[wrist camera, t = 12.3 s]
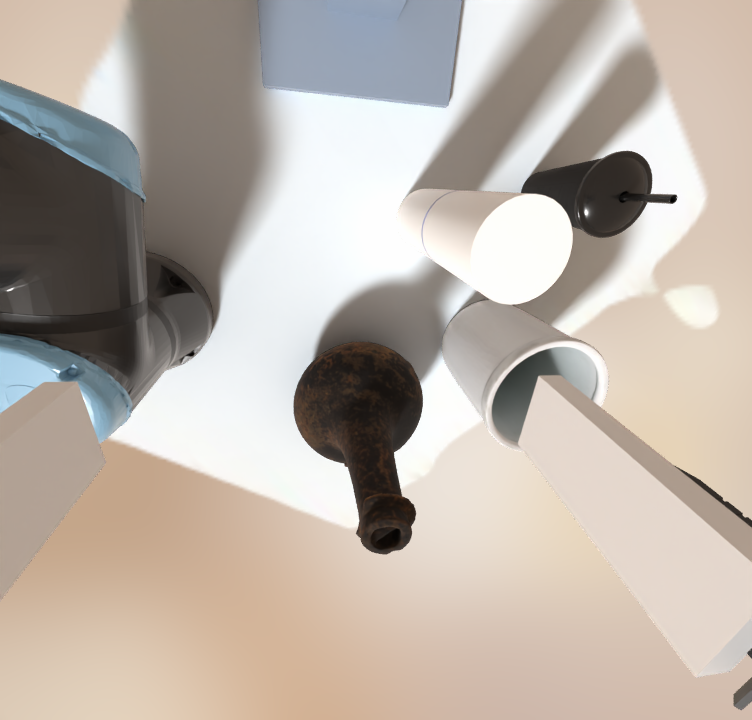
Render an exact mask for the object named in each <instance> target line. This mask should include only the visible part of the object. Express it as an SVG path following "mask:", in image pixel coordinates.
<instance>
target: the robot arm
mask: <svg viewBox="0 0 752 720" xmlns="http://www.w3.org/2000/svg"><path fill="white" fill-rule="evenodd" d="M143 202H146V196H145V194H144V192H143V191H142V181H141V171H140V161H139V155H138V152H137V150H136V147H135V146H134V144H133V143H132V141H131V140H130V139H129V138H128V137H127V136H126V135H125V134H124V133H123V132H121V131H120V130H119V129H117V128H116V127H114V126H113V125H111V124H109V123H107V122H105V121H103V120H101V119H99V118H96V117H94V116H92V115H90V114H87V113H85V112H83V111H81V110H78V109H76V108H73V107H71V106H68V105H66V104H64V103H61V102H59V101H56V100H54V99H51V98H49V97H46V96H44V95H41V94H38V93H36V92H33V91H31V90H28V89H25V88H23V87H20V86H17V85H15V84H12V83H9V82H6V81H3V80H1V79H0V601H1V600H2V599H3V597H4V596H5V595H6V593H7V592H8V591H9V589H10V588H11V587H12V585H13V584H14V583H15V581H16V580H17V579H18V578H19V576H20V575H21V574H22V572H23V571H24V570H25V568H26V567H27V566H28V564H29V563H30V562H31V561H32V559H33V558H34V557H35V555H36V554H37V553H38V551H39V550H40V549H41V547H42V546H43V545H44V543H45V542H46V541H47V540H48V538H49V537H50V536H51V534H52V533H53V532H54V530H55V529H56V528H57V527H58V525H59V524H60V523H61V521H62V520H63V519H64V517H65V516H66V515H67V513H68V512H69V511H70V509H71V508H72V507H73V506H74V504H75V503H76V502H77V500H78V499H79V498H80V496H81V495H82V494H83V492H84V491H85V490H86V489H87V487H88V486H89V485H90V483H91V482H92V481H93V479H94V478H95V477H96V475H97V474H98V473H99V472H100V470H101V469H102V468H103V466H104V465H105V464H106V461H105V458H104V455H103V452H102V450H101V447H100V443H101V442H103V441H104V440H106V439H107V438H108V437H109V436H110V435H111V434H112V433H113V432H114V431H115V430H116V429H117V428H119V427H120V426H122V425H123V424H124V423H125V422H126V421H127V420H128V419H129V417H130V416H131V415H130V414H131V413H132V411H133V410H134V408H135V407H136V406H137V405H138V404H139V402H140V401H141V400H142V399H143V397H144V396H145V395H146V394H147V392H148V391H149V390H150V389H151V387H152V386H153V385H154V384H155V383H156V381H157V380H158V379H159V378H160V376H161V375H162V374H163V373H164V371H166V370H169V369H172V368H174V367H177V366H180V365H182V364H184V363H186V362H188V361H189V360H191V359H192V358H193V357H194V356H196V355H197V354H198V353H199V351H200V350H201V349H202V348H203V346H204V345H205V343H206V342H207V340H208V338H209V336H210V334H211V331H212V326H213V312H212V307H211V303H210V300H209V298H208V296H207V294H206V292H205V290H204V289H203V287H202V286H201V284H200V283H199V282H198V281H197V279H196V278H195V277H194V276H193V275H192V274H191V273H190V272H188V271H187V270H186V269H185V268H183V267H182V266H180V265H179V264H177V263H176V262H174V261H172V260H170V259H168V258H165V257H163V256H160V255H157V254H153V253H149V252H145V233H144V213H143ZM518 445H519V446H520V448H521V449H522V450H523V452H524V453H525V454H526V455H527V457H528V458H529V459H530V461H531V462H532V463H533V465H534V466H535V467H536V469H537V470H538V471H539V472H540V474H541V475H542V477H543V478H544V479H545V480H546V482H547V483H548V484H549V486H550V487H551V488H552V490H553V491H554V492H555V494H556V495H557V496H558V497H559V499H560V500H561V501H562V503H563V504H564V505H565V507H566V508H567V509H568V511H569V512H570V513H571V515H572V516H573V517H574V519H575V520H576V521H577V523H578V524H579V525H580V526H581V528H582V529H583V530H584V532H585V533H586V534H587V536H588V537H589V538H590V540H591V541H592V542H593V544H594V545H595V546H596V548H597V549H598V550H599V551H600V553H601V554H602V555H603V557H604V558H605V559H606V561H607V562H608V563H609V565H610V566H611V567H612V569H613V570H614V571H615V572H616V574H617V575H618V576H619V578H620V579H621V580H622V582H623V583H624V584H625V586H626V587H627V588H628V590H629V591H630V592H631V594H632V595H633V596H634V598H635V599H636V600H637V601H638V603H639V604H640V605H641V607H642V608H643V609H644V611H645V612H646V613H647V615H648V616H649V617H650V618H651V620H652V621H653V622H654V624H655V625H656V626H657V628H658V629H659V630H660V632H661V633H662V634H663V636H664V637H665V638H666V640H667V641H668V642H669V644H670V645H671V646H672V647H673V649H674V650H675V651H676V653H677V654H678V655H679V657H680V658H681V659H682V661H683V662H684V663H685V665H686V666H687V667H688V669H689V670H690V671H691V672H692V674H693V675H694V676H695V677H702V676H708V675H713V674H720V673H725V672H730V671H731V670H732V669H733V668H734V667H735V666H736V665H737V664H738V663H739V662H740V661H741V660H742V659H743V658H744V657H745V656H746V655H747V654H748V655H749V656H750V657H751V658H752V520H751V519H749V518H748V517H746V518H745V517H743V515H742V513H741V512H740V511H739V510H738V509H736V508H735V507H734V506H733V505H731V504H730V503H729V502H724V501H723V498H722V497H721V496H720V495H718V494H717V493H716V492H715V491H713V490H712V489H711V488H709V487H708V486H707V485H706V484H704V483H703V482H702V481H701V480H699V479H697V478H696V477H694V476H692V475H690V474H688V473H687V472H685V471H683V470H681V469H680V468H678V467H676V466H674V465H672V464H671V463H670V462H669V461H667V460H666V459H665V458H664V457H662V456H661V455H660V454H659V453H657V452H656V451H655V450H654V449H652V448H651V447H650V446H649V445H647V444H646V443H645V442H644V441H642V440H641V439H640V438H638V437H637V436H636V435H635V434H634V433H632V432H631V431H630V430H628V429H627V428H626V427H625V426H623V425H622V424H621V423H620V422H618V421H617V420H616V419H615V418H613V417H612V416H611V415H610V414H608V413H607V412H606V411H605V410H603V409H602V408H601V407H600V406H598V405H597V404H596V403H595V402H593V401H592V400H591V399H590V398H588V397H587V396H586V395H585V394H583V393H582V392H581V391H580V390H578V389H577V388H576V387H575V386H573V385H572V384H571V383H570V382H568V381H567V380H566V379H564V378H563V377H562V376H561V375H543V376H538V379H537V383H536V386H535V389H534V392H533V396H532V399H531V402H530V406H529V409H528V412H527V415H526V419H525V422H524V425H523V428H522V432H521V435H520V438H519V441H518ZM751 701H752V678H750V679H749V680H748V681H747V682H746V683H745V684H744V685H743V686H742V687H741V688H740V689H739V690H738V691H737V692H736V693H735V694H734V706H735V707H736V708H738V709H740V710H742V709H744V708H745V707H746V706H747V705H748V704H749V703H750V702H751Z"/></svg>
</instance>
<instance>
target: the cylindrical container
mask: <svg viewBox="0 0 752 720" xmlns="http://www.w3.org/2000/svg"><path fill="white" fill-rule="evenodd" d="M397 228H398V231H399V233H400V235H401V237H402V238H403V239H404V240H405V241H406V242H407V243H408V244H409V245H411V246H412V247H414V248H415V249H417V250H418V251H420V252H421V253H423V254H424V255H426V256H427V257H429V258H430V259H432V260H433V261H434V262H436V263H437V264H439V265H440V266H442V267H443V268H445V269H446V270H448V271H449V272H451V273H452V274H454V275H455V276H457V277H458V278H459V279H461V280H462V281H464V282H465V283H467V284H468V285H470V286H471V287H473V288H474V289H476V290H477V291H479V292H480V293H481V294H483V295H484V296H486V297H488V298H489V299H491V300H492V301H495V302H498V303H501V304H508V305H512V304H520V303H524V302H528V301H530V300H532V299H534V298H536V297H538V296H539V295H541V294H542V293H544V292H545V291H547V290H548V289H549V288H550V287H551V286H552V285H553V284H554V283H555V282H556V280H557V279H558V278H559V276H560V275H561V274H562V272H563V270H564V268H565V266H566V265H567V262H568V259H569V257H570V253H571V249H572V239H573V233H572V226H571V222H570V220H569V217H568V215H567V213H566V212H565V210H564V209H563V207H562V206H561V205H560V204H559V203H557V202H556V201H555V200H554V199H551V198H549V197H547V196H544V195H539V194H527V193H507V192H487V191H466V190H446V189H419V190H416V191H414V192H412V193H410V194H409V195H408V196H407V197H406V198H405V199H404V200H403V201H402V203H401V205H400V207H399V209H398V212H397Z"/></svg>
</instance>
